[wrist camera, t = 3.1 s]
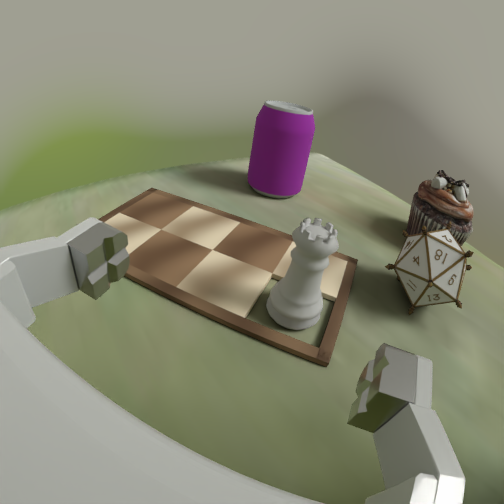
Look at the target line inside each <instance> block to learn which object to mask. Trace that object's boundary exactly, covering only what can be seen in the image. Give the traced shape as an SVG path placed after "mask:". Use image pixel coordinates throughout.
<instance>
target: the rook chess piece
mask: <svg viewBox="0 0 504 504" xmlns="http://www.w3.org/2000/svg"><path fill="white" fill-rule="evenodd" d="M321 221H322V219H319V218H315V220H314V223H310V222H311V219H310V218H306V219H304V220H303V222H301V223H300V227H298V228H296V229H295V230H294V231H293V232H292V238H293V240H294V242H295V244H296V247H295V248H293V250H292V251H291V258H292V260H291V264H290V266H289V268H288V270H287V272H286V275H285V277H283V278H282V279H281V280H280V281H279V282H277V283H276V284H275V286H274V287H273V288H272V289H271V291H270V296H269V298H268V299H267V305H266V307H267V310H268V312H269V315H270V316H271V317H272V318H273V319H274V320H275V321H276V322H277V323H278V324H279V325H281V326H283V327H285V328H287V329H293V330H300V329H306V328H309V327H311V326H313V325H314V324H316V323H317V321H318V320H319V318H320V312H321V311H322V309H323V297H322V296H321V289H320V285H321V280H322V275H323V272H324V269H325V268H327V267H328V265H329V258H328V256H329V255H331V254H333V253H334V252H336V251H337V249H338V248H339V245H338V241H337V239H336V237H337V234H338V233H337V230H336V229H333V226H334V225H332V224H331V223H329V222H328V223H326V226H325V227H324V226H322V225H320V224H321ZM332 229H333V231H332Z"/></svg>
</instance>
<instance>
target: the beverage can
mask: <svg viewBox="0 0 504 504" xmlns="http://www.w3.org/2000/svg"><path fill="white" fill-rule="evenodd" d="M314 131H315V124H314V118H313V110H311V109H309V108H307V107H304V106H301V105H297V104H293V103H288V102H281V101H266V102H265V103H264V105H263V107H262V109H261V110H260V112H259V114H258V116H257V118H256V124H255V131H254V137H253V143H252V150H251V156H250V163H249V169H248V183H249V184H250V185H251V187H252V188H253V189H254V190H255V191H256V192H258V193H259V194H262V195H264V196H267V197H272V198H280V199H281V198H289V197H292V196H293V195H295V194H297V193H299V192H300V190H301V187H302V183H303V179H304V175H305V170H306V166H307V162H308V157H309V153H310V148H311V144H312V140H313V135H314Z"/></svg>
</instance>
